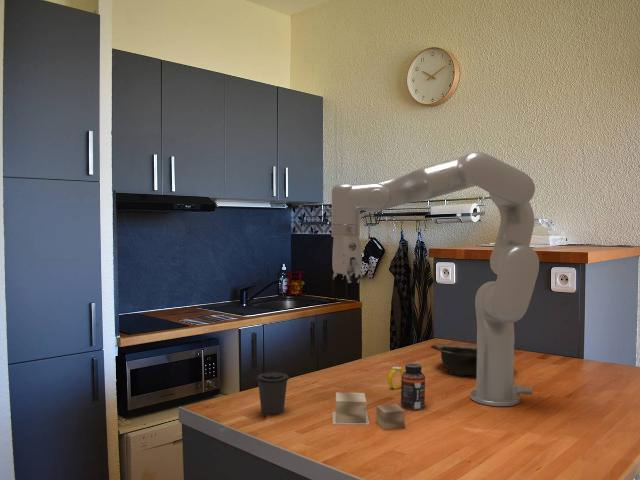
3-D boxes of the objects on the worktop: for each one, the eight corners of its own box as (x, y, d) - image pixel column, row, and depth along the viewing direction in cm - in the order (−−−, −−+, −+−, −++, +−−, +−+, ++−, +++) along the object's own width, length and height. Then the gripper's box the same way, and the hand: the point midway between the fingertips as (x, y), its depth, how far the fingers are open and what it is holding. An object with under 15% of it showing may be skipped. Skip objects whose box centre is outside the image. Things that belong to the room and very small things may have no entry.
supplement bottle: (424, 414, 140) (425, 368, 140) (400, 412, 142) (400, 367, 141) (425, 406, 146) (425, 362, 146) (401, 404, 147) (402, 361, 147)
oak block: (396, 420, 134) (396, 404, 133) (404, 428, 129) (404, 410, 129) (376, 422, 132) (376, 405, 132) (383, 430, 128) (383, 412, 127)
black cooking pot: (454, 382, 168) (453, 351, 168) (420, 368, 192) (419, 340, 192) (528, 376, 174) (527, 346, 174) (486, 363, 198) (485, 336, 198)
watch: (399, 386, 166) (400, 365, 166) (406, 388, 164) (408, 367, 164) (385, 388, 162) (386, 367, 162) (392, 390, 160) (393, 369, 160)
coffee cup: (263, 421, 134) (263, 379, 134) (251, 411, 142) (251, 371, 141) (294, 416, 138) (294, 375, 138) (281, 406, 145) (281, 367, 145)
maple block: (364, 413, 139) (364, 392, 139) (366, 423, 132) (366, 401, 132) (335, 412, 139) (335, 392, 139) (335, 422, 132) (335, 401, 132)
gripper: (372, 231, 143) (371, 299, 144) (346, 230, 159) (346, 291, 160) (344, 231, 141) (344, 300, 141) (321, 231, 157) (321, 292, 157)
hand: (345, 296), depth 150 cm, fingers open, 9 cm apart
